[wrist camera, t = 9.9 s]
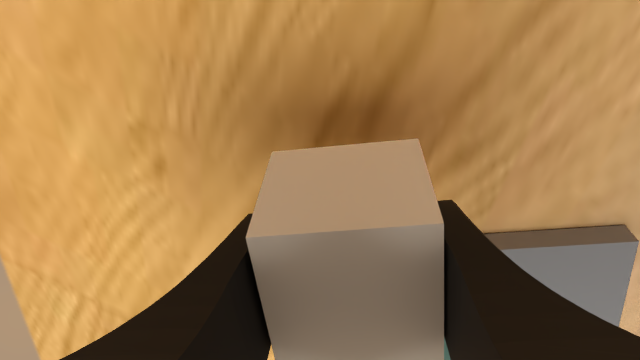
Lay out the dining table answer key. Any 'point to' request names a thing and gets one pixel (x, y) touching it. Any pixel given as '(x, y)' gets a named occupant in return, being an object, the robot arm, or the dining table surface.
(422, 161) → the cream cube
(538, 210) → the dining table surface
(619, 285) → the plate
